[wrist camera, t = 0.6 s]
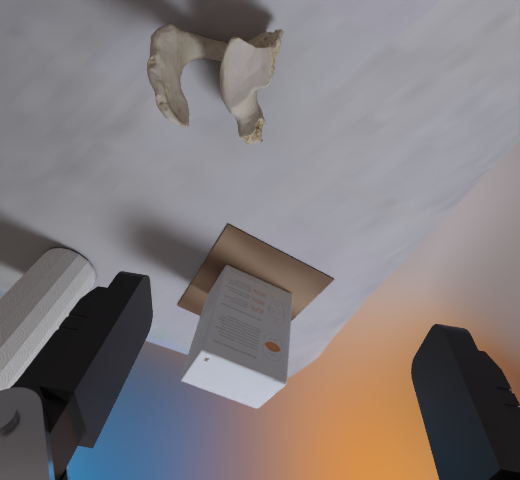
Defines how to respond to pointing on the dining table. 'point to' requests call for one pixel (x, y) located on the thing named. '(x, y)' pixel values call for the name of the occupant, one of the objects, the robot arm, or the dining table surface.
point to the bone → (231, 73)
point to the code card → (255, 271)
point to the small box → (241, 340)
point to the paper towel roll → (39, 308)
